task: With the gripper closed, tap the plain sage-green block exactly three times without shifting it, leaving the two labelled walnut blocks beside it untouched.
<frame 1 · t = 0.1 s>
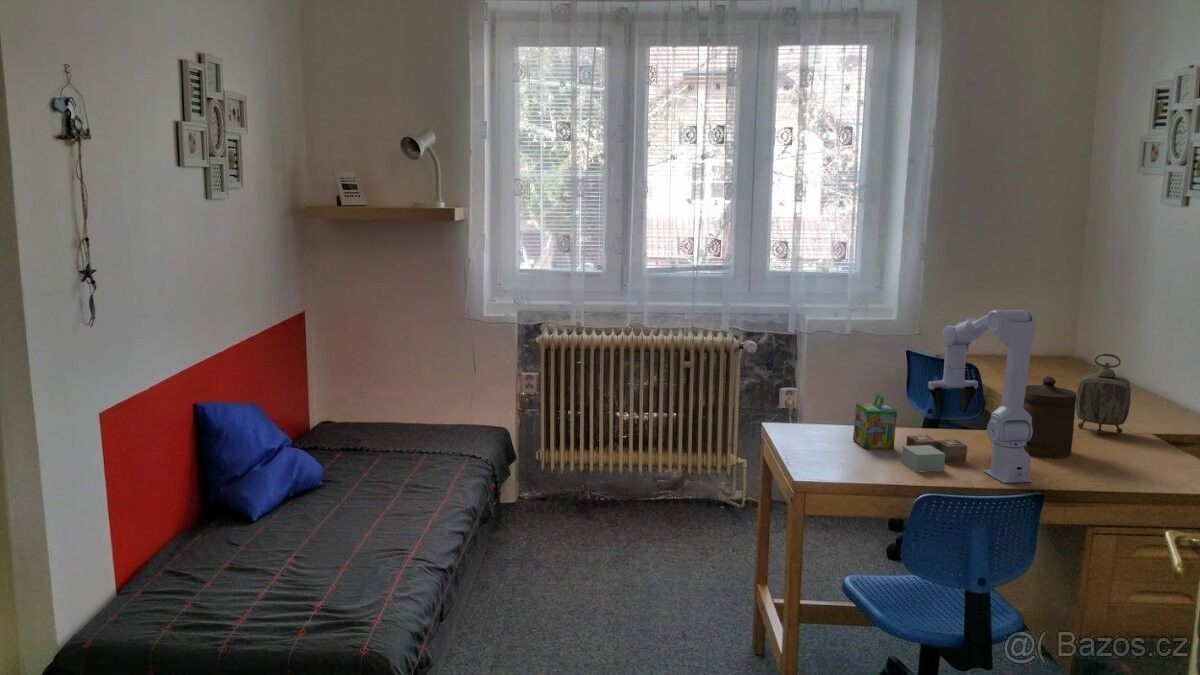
hand: (950, 412, 259), 10 cm above the table, tool pointing down, fingers open, 7 cm apart
wooden container: (1041, 452, 256), on the table
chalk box: (873, 445, 261), on the table
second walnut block: (920, 455, 251), on the table
sage block: (922, 467, 241), on the table
walnut block: (949, 460, 247), on the table
tabletop clock: (1099, 433, 277), on the table
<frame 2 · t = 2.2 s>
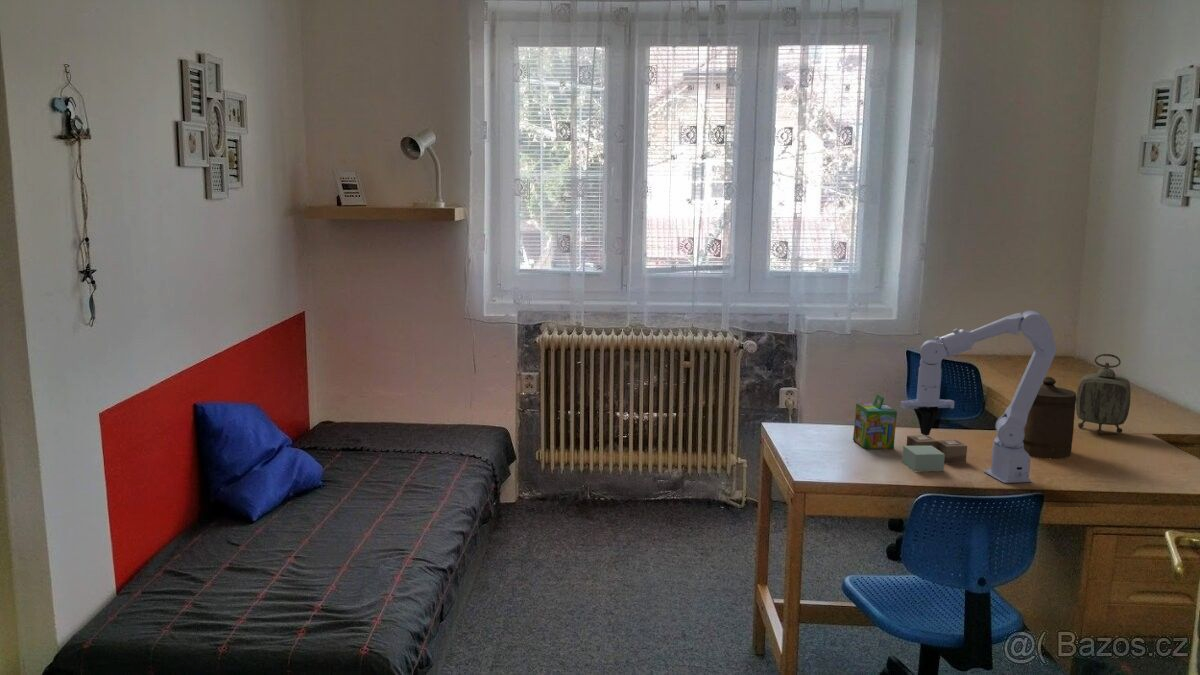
hand: (925, 434, 239), 9 cm above the table, tool pointing down, fingers closed
nothing on the table moved.
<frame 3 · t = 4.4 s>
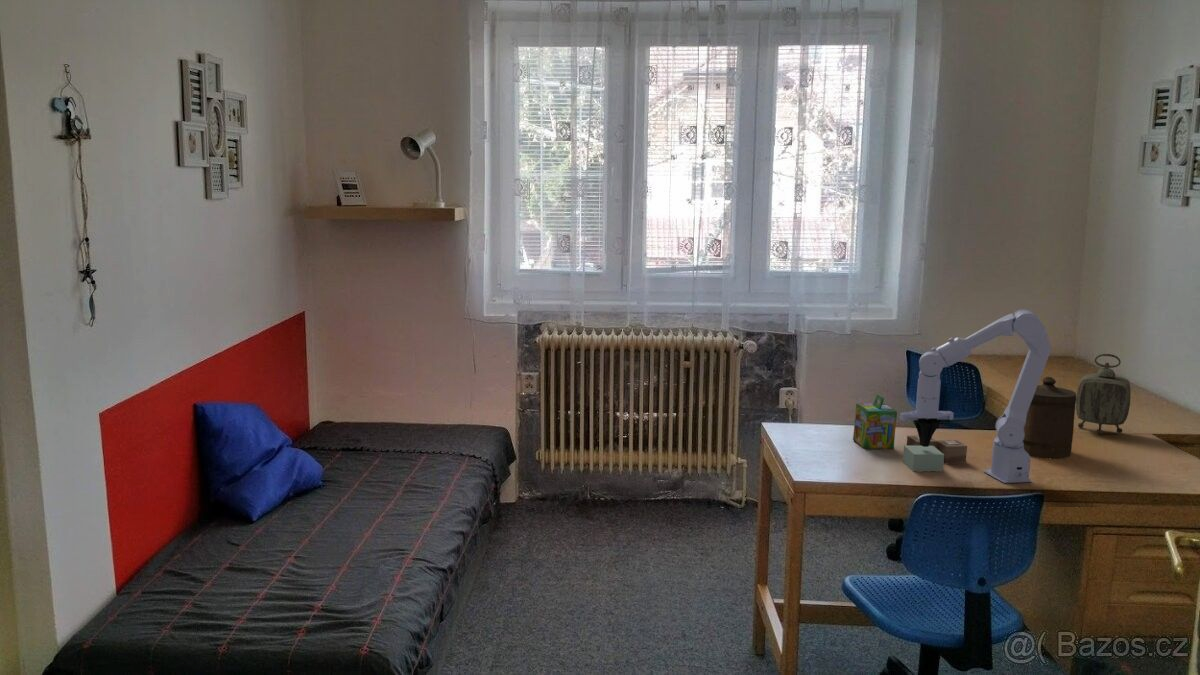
hand: (924, 445, 240), 6 cm above the table, tool pointing down, fingers closed
nothing on the table moved.
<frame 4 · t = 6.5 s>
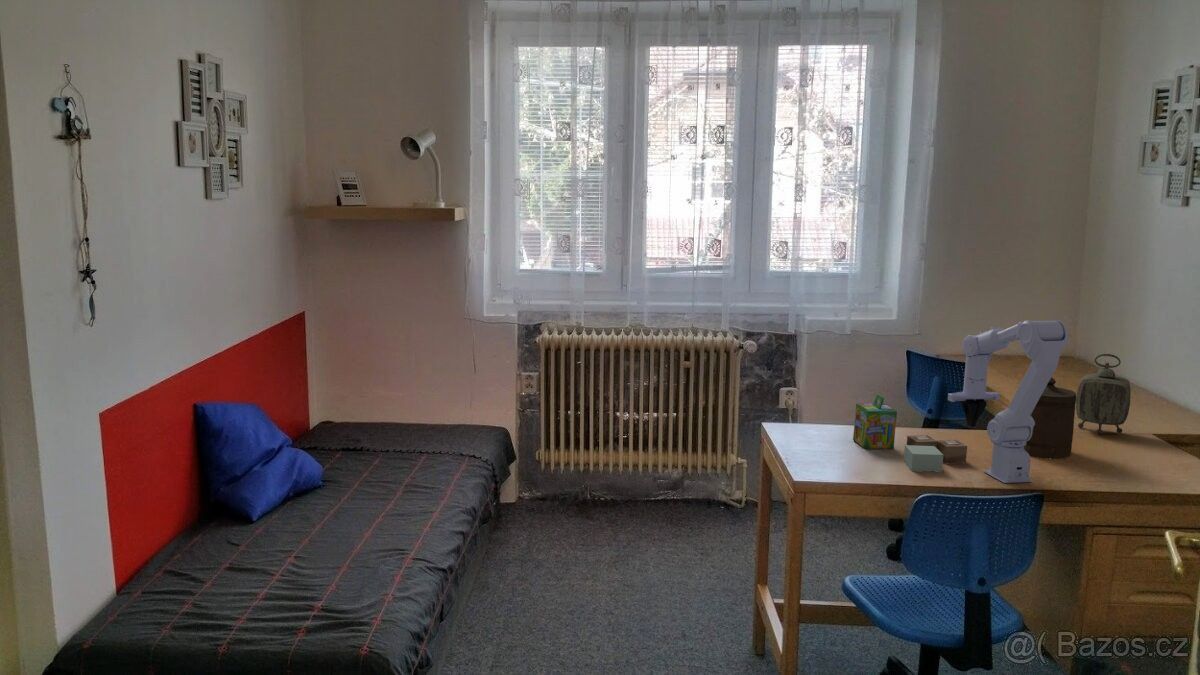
hand: (971, 425, 247), 9 cm above the table, tool pointing down, fingers closed
nothing on the table moved.
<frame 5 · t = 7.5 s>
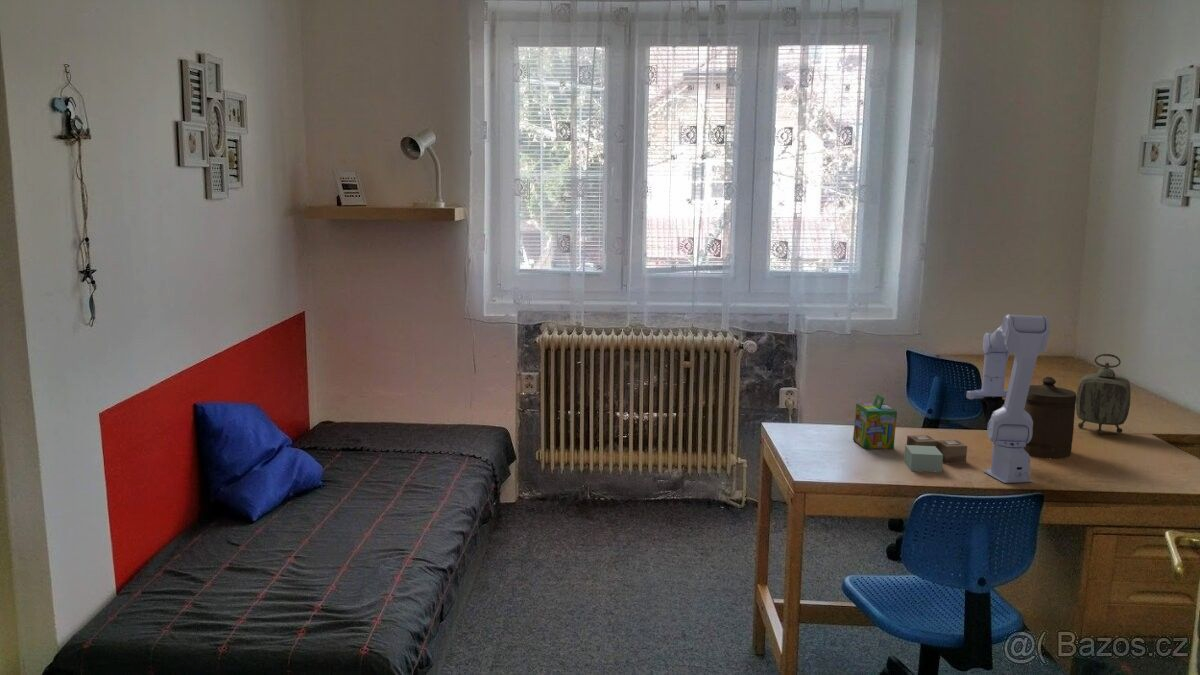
hand: (989, 422, 251), 9 cm above the table, tool pointing down, fingers closed
nothing on the table moved.
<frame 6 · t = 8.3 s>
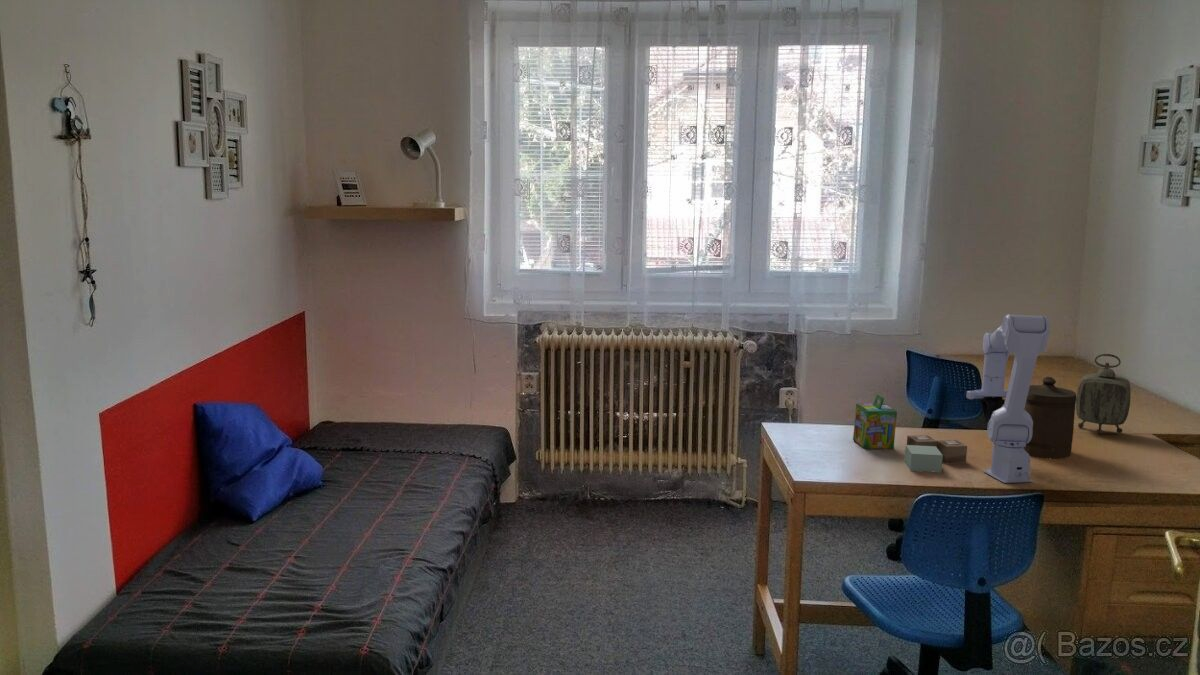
hand: (989, 422, 251), 9 cm above the table, tool pointing down, fingers closed
nothing on the table moved.
at the end: sage block moved 0.3 cm from its start; sage block tilted 0°; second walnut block moved 0.2 cm from its start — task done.
